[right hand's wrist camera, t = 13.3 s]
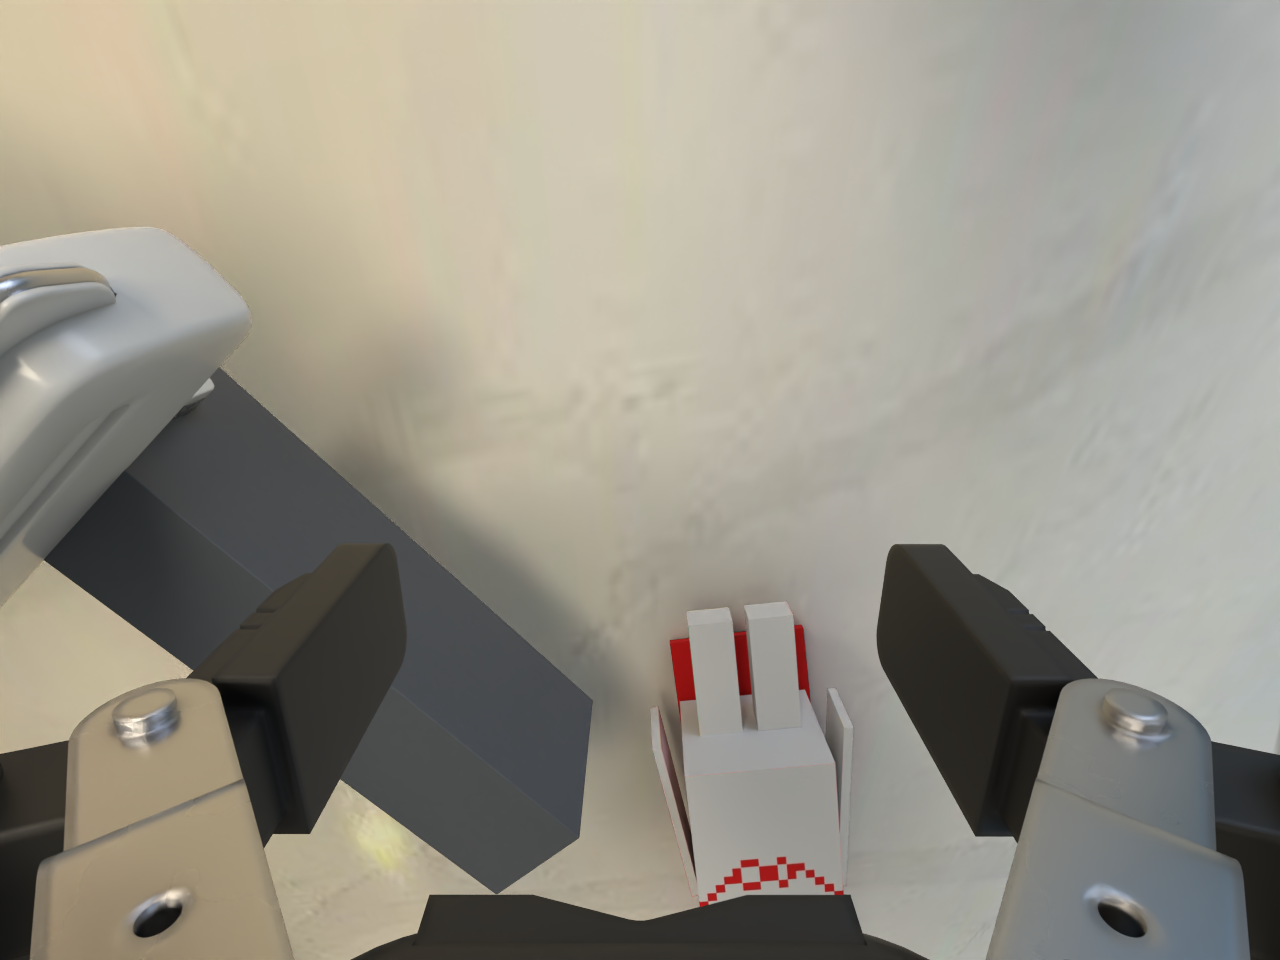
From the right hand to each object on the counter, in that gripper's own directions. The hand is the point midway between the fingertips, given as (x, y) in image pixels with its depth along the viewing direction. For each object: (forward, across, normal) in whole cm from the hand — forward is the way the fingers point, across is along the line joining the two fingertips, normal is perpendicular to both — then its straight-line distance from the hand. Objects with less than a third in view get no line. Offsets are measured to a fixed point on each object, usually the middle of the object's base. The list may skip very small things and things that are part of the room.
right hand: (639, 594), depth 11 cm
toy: (+31, -8, +32) cm, 45 cm away
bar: (+20, +13, +10) cm, 26 cm away
